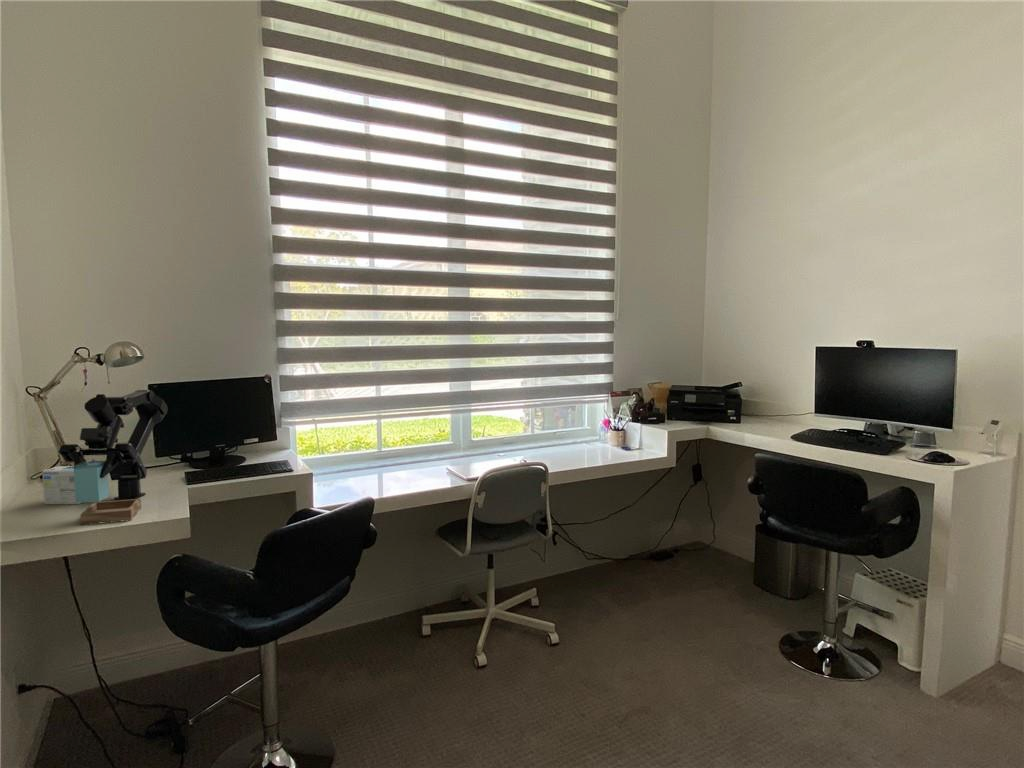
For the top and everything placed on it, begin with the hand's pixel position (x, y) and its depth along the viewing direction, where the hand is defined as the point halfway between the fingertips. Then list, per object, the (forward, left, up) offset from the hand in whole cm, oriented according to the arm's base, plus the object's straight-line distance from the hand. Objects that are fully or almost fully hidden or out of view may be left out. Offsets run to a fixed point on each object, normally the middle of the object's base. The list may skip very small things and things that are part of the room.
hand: (88, 477), depth 166 cm
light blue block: (-1, 0, -7) cm, 7 cm away
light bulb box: (-18, -19, -13) cm, 29 cm away
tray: (-4, +4, -12) cm, 13 cm away
